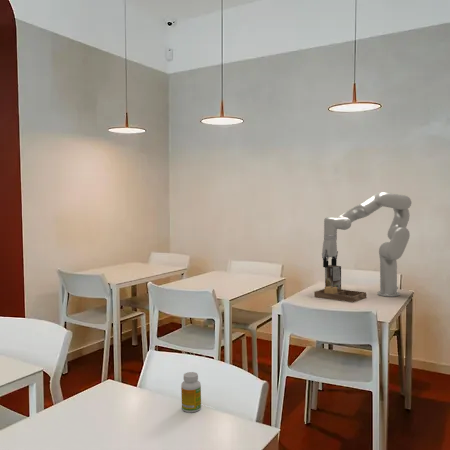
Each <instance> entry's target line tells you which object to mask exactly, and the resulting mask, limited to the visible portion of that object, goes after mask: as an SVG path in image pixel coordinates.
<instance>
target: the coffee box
mask: <svg viewBox="0 0 450 450" xmlns="http://www.w3.org/2000/svg"><path fill="white" fill-rule="evenodd" d="M324 284H325V285H324V288H325V287H327V286H334V287H337V289H342V265H341V266H340V265H336V266H332V265H331V264H328V268H327V267H324Z"/></svg>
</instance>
